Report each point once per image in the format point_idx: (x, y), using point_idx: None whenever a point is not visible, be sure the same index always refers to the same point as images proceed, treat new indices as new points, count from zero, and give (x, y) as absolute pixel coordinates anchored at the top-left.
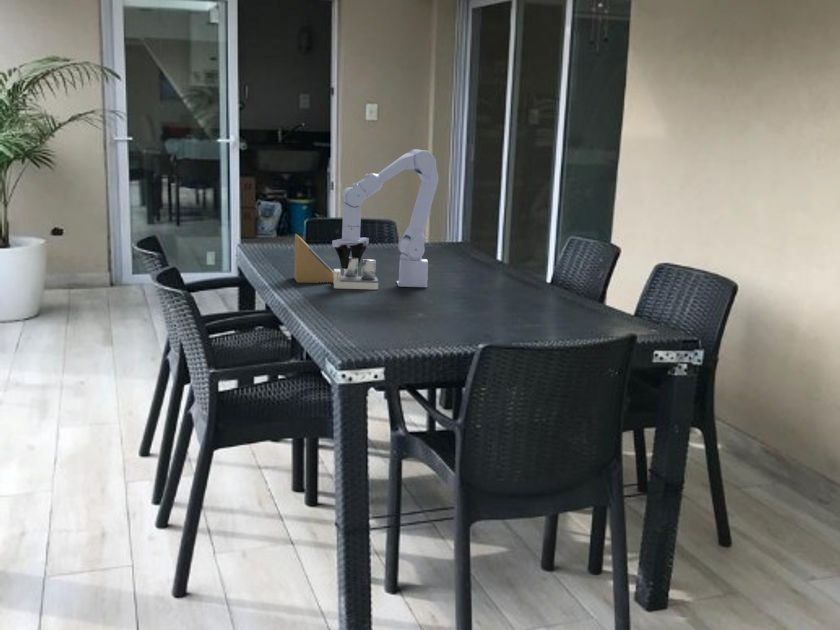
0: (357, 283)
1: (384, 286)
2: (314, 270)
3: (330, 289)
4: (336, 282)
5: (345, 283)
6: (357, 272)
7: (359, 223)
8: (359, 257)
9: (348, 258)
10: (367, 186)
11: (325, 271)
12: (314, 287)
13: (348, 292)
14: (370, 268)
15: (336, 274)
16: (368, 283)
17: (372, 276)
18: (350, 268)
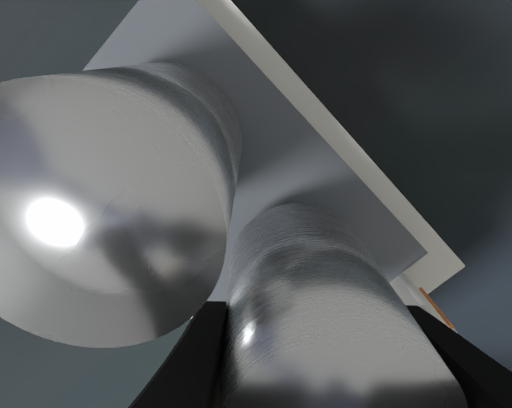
0: (339, 126)
1: (30, 43)
2: None
3: (490, 229)
4: (453, 252)
5: (406, 200)
6: (271, 229)
7: None
8: (196, 395)
9: (505, 402)
10: None
11: None
12: (500, 328)
13: (504, 62)
14: (181, 87)
15: (446, 320)
16: (266, 43)
17: (171, 64)
18: (384, 278)
